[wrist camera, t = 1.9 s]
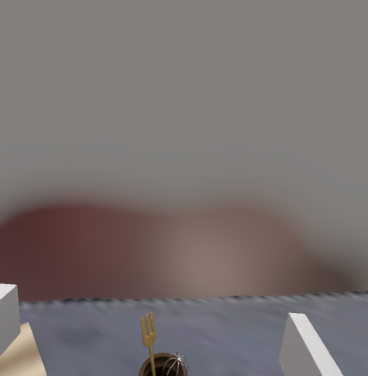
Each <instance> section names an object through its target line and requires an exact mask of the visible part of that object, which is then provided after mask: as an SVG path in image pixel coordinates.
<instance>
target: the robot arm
mask: <svg viewBox="0 0 368 376" xmlns="http://www.w3.org/2000/svg"><path fill="white" fill-rule="evenodd" d="M17 293H18V292H17V285H9V284H0V356H1V355H2V354H3V353H4V351H5V350H6V349H7V348H8V347H9V346H10V345H11V343H12V342H13V341H14V340H15V339H16V338H17V337H18V335H19V334H20V333H21V329H20V317H19V305H18V294H17ZM279 362H280V365H281V367H282V370H283V373H284V375H285V376H343V375H342V373H341V371H340V370H339V368H338V367H337V365H336V363H335V362H334V360H333V359H332V357H331V355H330V354H329V352H328V351H327V349H326V347H325V346H324V344H323V343H322V341H321V339H320V338H319V336H318V334H317V333H316V331H315V330H314V328H313V326H312V325H311V323H310V322H309V320H308V318H307V317H306V315H305V314H297V313H289V314H288V318H287V323H286V328H285V332H284V337H283V341H282V346H281V351H280V355H279Z"/></svg>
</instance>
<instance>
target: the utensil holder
mask: <svg viewBox="0 0 368 376" xmlns="http://www.w3.org/2000/svg"><path fill="white" fill-rule="evenodd" d="M150 316H151V327H152V333H151V332H150V324H149V316H148V315H146V325H147V336H146V332H145V324H144V318H141V325H142V336H143V345H144V346H148V347H149V354H150V358H148V359H147V360H146V361H145V362H144V364H143V365H142V367H141V369H140V372H139V376H187V372H188V370H186V367H185V365H184V363H183V362H182V361H181V360H180V359H181V357H182V356H181V357H180V358H179V357H178V356H177V355H176V356H175V354H174V355H172V354H173V353H171V354H169V353H159V354H155V355H153V349H152V345H153V343H154V341H155V340H156V333H155V325H154V317H153V312H151V313H150ZM177 354H178V353H177ZM183 356H185V355H183ZM182 360H183V359H182ZM184 362H185V360H184ZM187 364H188V363H187ZM188 367H189V366H188Z"/></svg>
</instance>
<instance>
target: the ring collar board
mask: <svg viewBox="0 0 368 376" xmlns="http://www.w3.org/2000/svg"><path fill="white" fill-rule="evenodd" d="M20 329H21V333H20V334H19V335H18V337H17V338H16V339H15V340H14V341H13V342H12V343H11V345H10V346H9V347H8V348H7V349H6V350H5V351H4V353H3V354H2V355H1V356H0V376H47V374H46V371H45V368H44V365H43V362H42V360H41V357H40V354H39V351H38V348H37V345H36V342H35V340H34V337H33V334H32V331H31V328H30V325H29V322H27V323H25V324H23V325H20Z"/></svg>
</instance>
